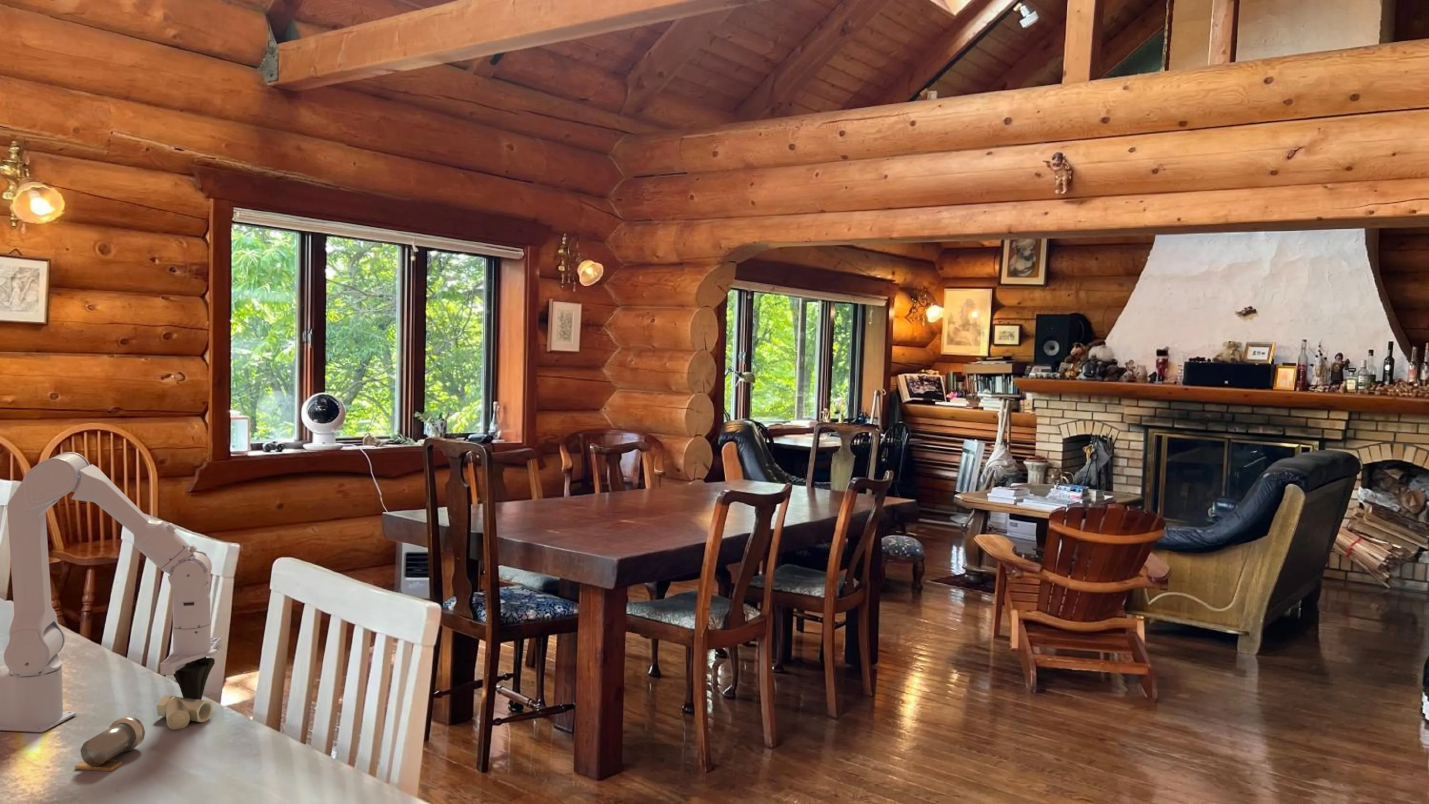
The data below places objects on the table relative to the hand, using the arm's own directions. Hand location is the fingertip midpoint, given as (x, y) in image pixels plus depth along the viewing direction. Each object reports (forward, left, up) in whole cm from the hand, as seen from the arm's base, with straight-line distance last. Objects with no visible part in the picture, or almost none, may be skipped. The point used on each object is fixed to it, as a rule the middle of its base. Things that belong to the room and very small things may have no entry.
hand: (192, 703), depth 174 cm
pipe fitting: (+1, -6, -2) cm, 6 cm away
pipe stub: (0, -21, -1) cm, 21 cm away
